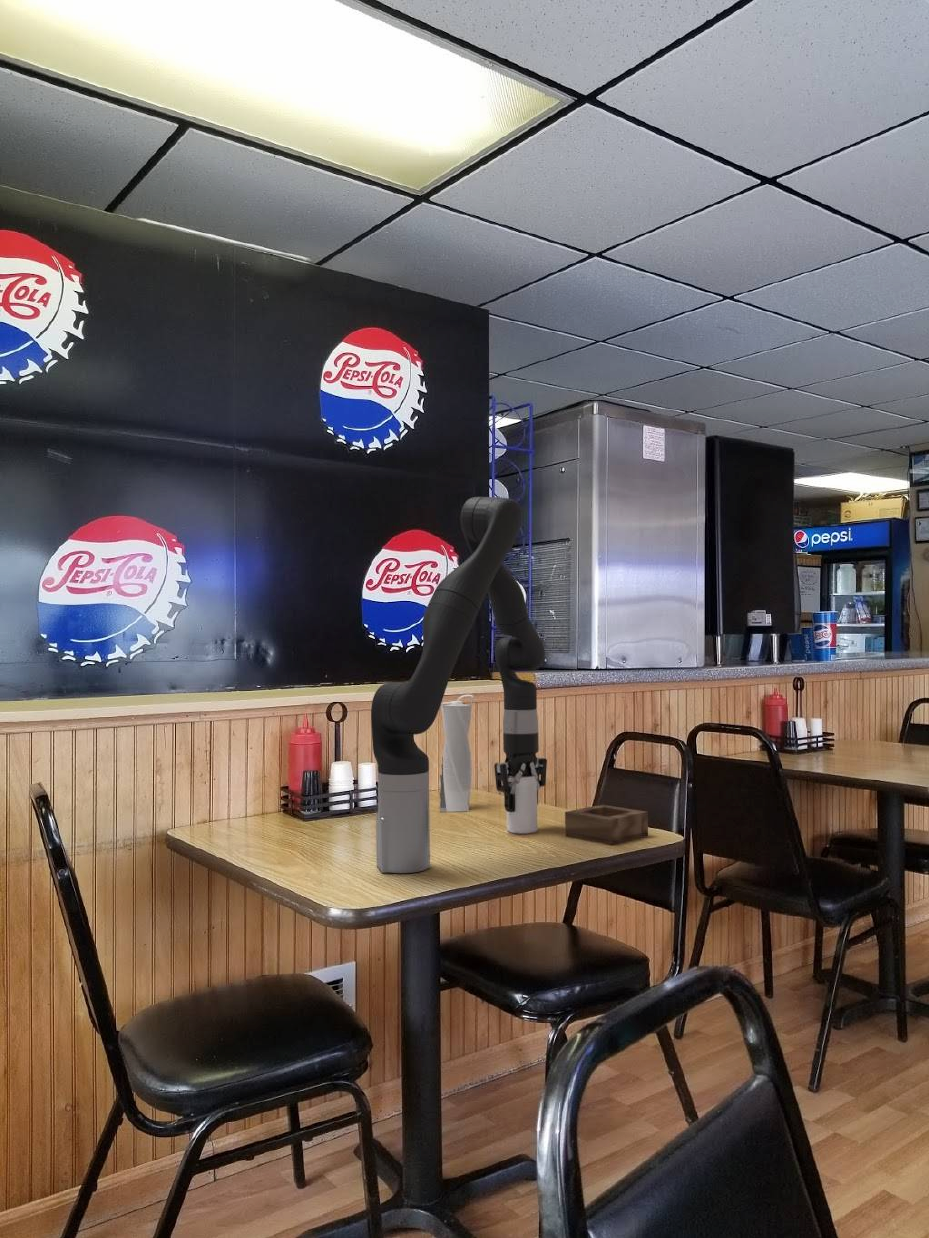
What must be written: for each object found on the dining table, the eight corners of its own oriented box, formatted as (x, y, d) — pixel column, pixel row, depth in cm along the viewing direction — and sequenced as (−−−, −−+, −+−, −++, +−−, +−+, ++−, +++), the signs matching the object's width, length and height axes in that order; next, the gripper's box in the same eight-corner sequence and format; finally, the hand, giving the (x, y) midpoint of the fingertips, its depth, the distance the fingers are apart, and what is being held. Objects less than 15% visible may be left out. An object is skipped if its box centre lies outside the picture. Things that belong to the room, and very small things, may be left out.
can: (535, 834, 194) (534, 777, 194) (504, 833, 195) (504, 776, 196) (539, 828, 200) (538, 772, 201) (509, 827, 202) (508, 772, 202)
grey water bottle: (473, 807, 228) (472, 693, 229) (475, 813, 220) (474, 695, 221) (439, 808, 228) (438, 694, 229) (440, 814, 220) (439, 695, 220)
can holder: (611, 845, 183) (610, 819, 183) (565, 836, 192) (565, 811, 192) (648, 835, 191) (647, 811, 192) (602, 827, 200) (602, 804, 200)
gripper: (509, 734, 191) (510, 816, 190) (556, 729, 200) (557, 807, 200) (484, 731, 196) (485, 811, 196) (531, 727, 206) (532, 803, 205)
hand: (521, 809), depth 198 cm, fingers closed on can, 6 cm apart
